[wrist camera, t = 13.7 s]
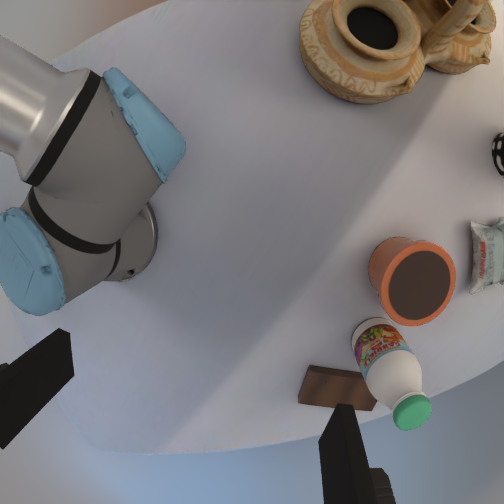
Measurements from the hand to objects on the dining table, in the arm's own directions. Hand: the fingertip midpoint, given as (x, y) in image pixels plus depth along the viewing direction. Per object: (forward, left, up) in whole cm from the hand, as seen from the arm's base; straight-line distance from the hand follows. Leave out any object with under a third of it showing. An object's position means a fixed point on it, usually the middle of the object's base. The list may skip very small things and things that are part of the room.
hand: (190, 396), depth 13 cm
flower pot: (+22, +2, -33) cm, 39 cm away
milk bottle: (+22, -10, -33) cm, 41 cm away
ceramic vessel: (+16, +37, -33) cm, 52 cm away
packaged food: (+38, +8, -33) cm, 51 cm away
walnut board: (+20, -21, -33) cm, 43 cm away
